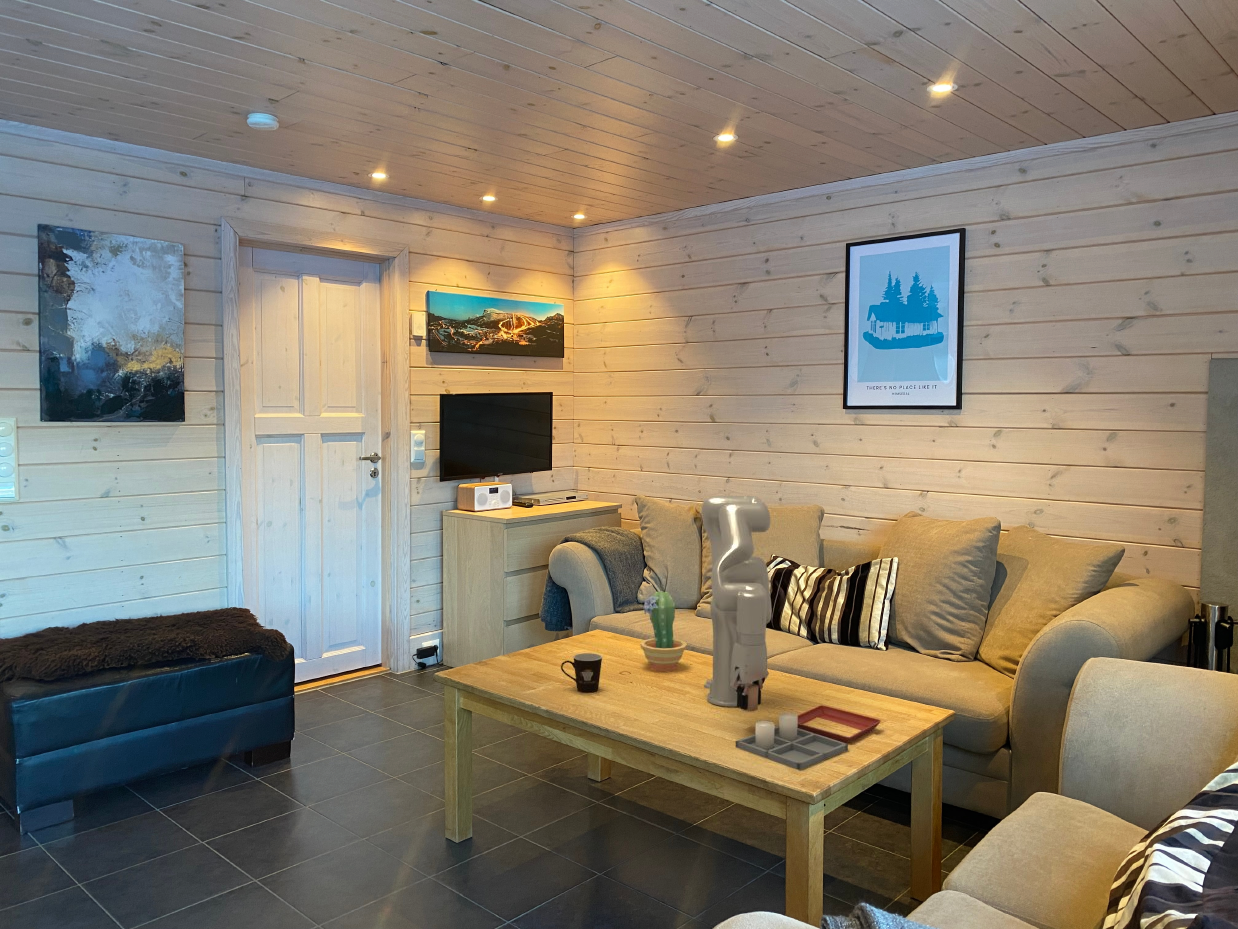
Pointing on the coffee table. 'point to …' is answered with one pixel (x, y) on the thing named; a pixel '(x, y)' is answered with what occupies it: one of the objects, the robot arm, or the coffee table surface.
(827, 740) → the gray divided tray
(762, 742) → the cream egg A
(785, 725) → the cream rounded cylinder
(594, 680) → the coffee mug
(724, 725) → the coffee table surface
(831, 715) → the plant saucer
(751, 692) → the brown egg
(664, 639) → the potted cactus
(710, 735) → the coffee table surface
